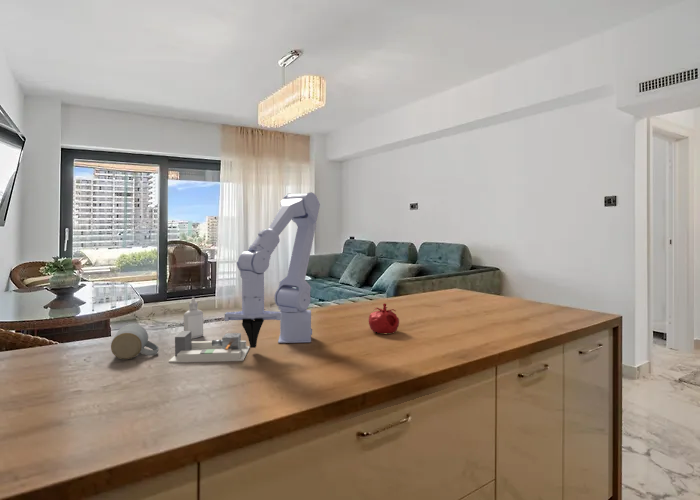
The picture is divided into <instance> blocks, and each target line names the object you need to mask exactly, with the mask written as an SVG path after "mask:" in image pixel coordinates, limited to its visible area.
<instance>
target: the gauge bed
mask: <svg viewBox="0 0 700 500" xmlns="http://www.w3.org/2000/svg"><path fill="white" fill-rule="evenodd" d="M192 340H193V339H192V337H191V331H184V330H182V331H181V332H179V333H178V334H176V336H174V356H172V357H171V358H170V359H169V360H168V363H169V364H171V363H173V364H174V363H205V362H206V363H207V362H209V363H210V362H215V363H216V362H243V361H244V360H245V358H246V356H247V355H248V352H249V350H250V349H251V348H250V345H247V340H241V348H240V350H231V349H228V350H225V349H222V346H212V340H210V341H209V340H205V341H192Z"/></svg>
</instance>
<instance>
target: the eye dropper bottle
mask: <svg viewBox="0 0 700 500" xmlns="http://www.w3.org/2000/svg"><path fill="white" fill-rule="evenodd" d="M198 306H199V304H198V301H196V298H195V297H191V301H190V302H188V310H187V311H185V312H184V314H183V331H191V337H192V340H193V339H194V340H195V339H197V338H200V337H203V336H204V312H203V310H201V309H199V307H198Z"/></svg>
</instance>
